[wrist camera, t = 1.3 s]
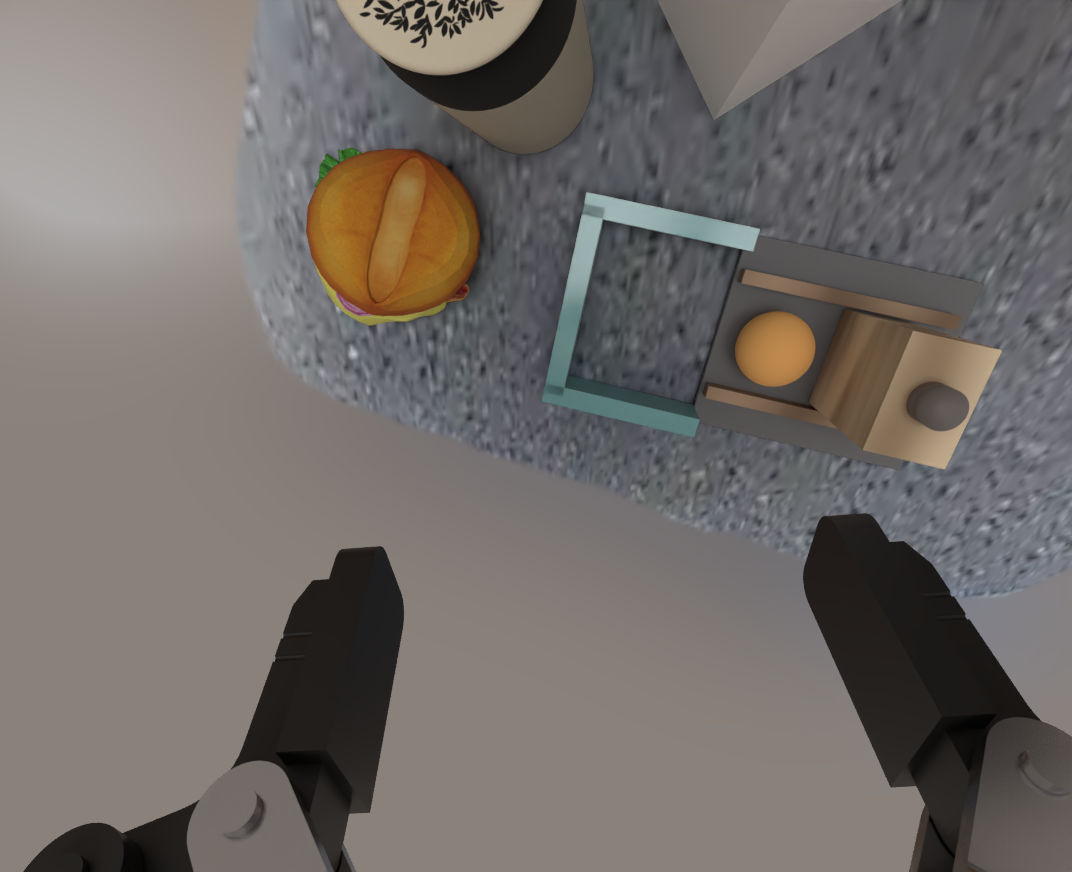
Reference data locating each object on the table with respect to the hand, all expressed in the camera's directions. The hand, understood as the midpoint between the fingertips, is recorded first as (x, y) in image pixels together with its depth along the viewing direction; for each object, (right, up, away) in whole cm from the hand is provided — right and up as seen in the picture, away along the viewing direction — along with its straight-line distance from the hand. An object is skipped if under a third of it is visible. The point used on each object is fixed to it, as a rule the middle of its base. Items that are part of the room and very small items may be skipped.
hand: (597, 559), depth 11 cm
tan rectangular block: (+19, +7, +25) cm, 32 cm away
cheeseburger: (-10, +15, +28) cm, 33 cm away
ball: (+13, +7, +24) cm, 28 cm away
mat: (+17, +7, +26) cm, 32 cm away
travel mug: (-2, +23, +24) cm, 33 cm away
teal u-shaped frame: (+6, +10, +27) cm, 29 cm away
